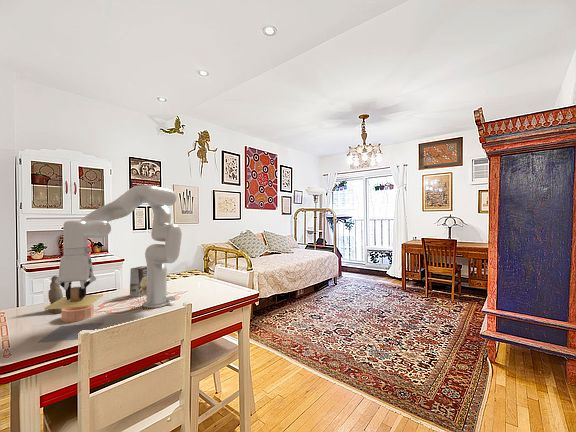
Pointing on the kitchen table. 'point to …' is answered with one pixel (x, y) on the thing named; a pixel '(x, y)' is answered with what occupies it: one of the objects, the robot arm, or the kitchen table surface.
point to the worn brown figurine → (54, 294)
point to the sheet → (73, 304)
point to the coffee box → (138, 281)
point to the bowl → (76, 313)
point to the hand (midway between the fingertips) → (76, 298)
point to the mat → (69, 332)
